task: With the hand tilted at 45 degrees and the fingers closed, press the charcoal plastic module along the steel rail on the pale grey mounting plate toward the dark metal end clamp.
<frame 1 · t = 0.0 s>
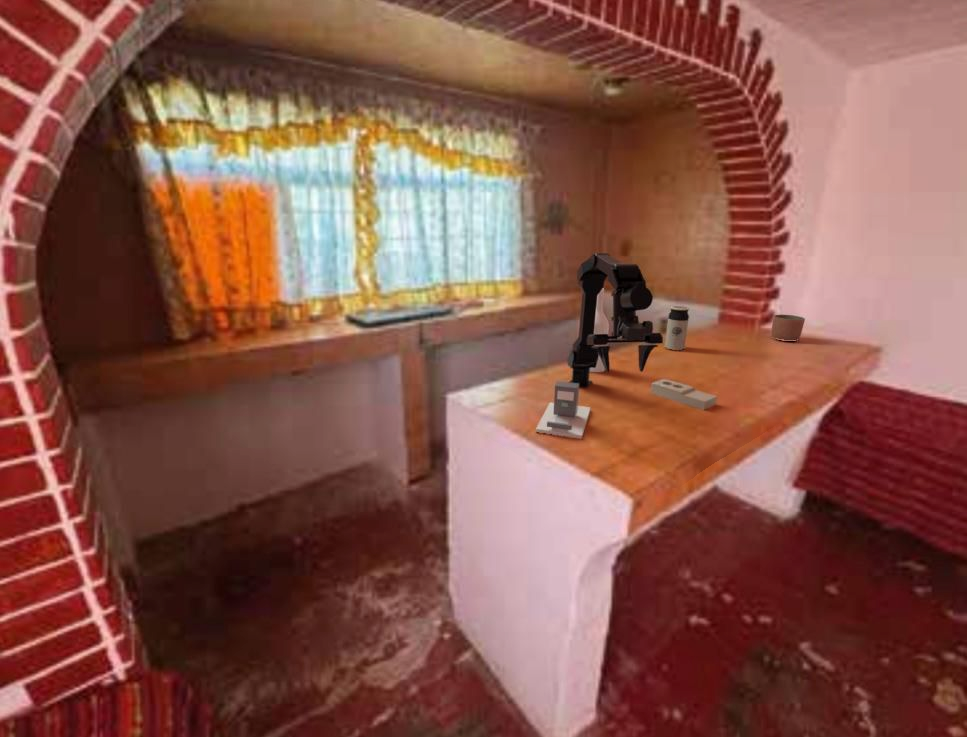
hand: (624, 372, 128), 15 cm above the table, tool pointing down, fingers open, 9 cm apart
planter: (784, 340, 226), on the table
travel mug: (674, 349, 210), on the table
rail plate: (564, 420, 135), on the table
bottle: (593, 369, 181), on the table
module: (566, 399, 134), point 6 cm above the table, slide at 0.0 cm
grey stepped block: (681, 400, 153), on the table
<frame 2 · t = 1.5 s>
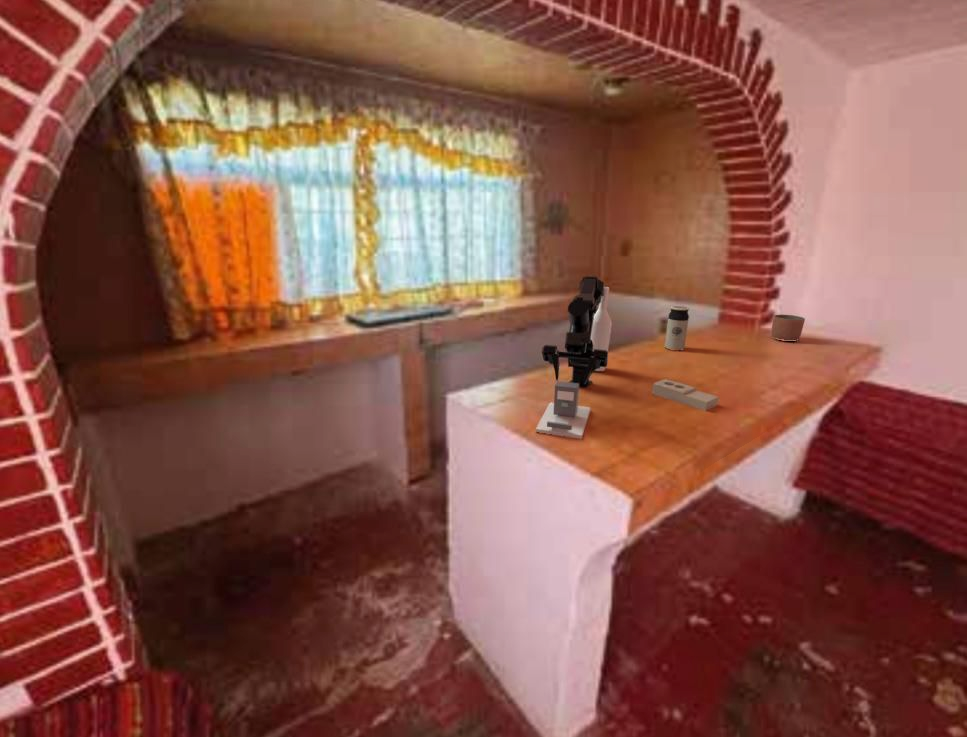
hand: (570, 381, 138), 9 cm above the table, tool tilted 45°, fingers open, 8 cm apart
bottle: (593, 368, 181), on the table, touching arm
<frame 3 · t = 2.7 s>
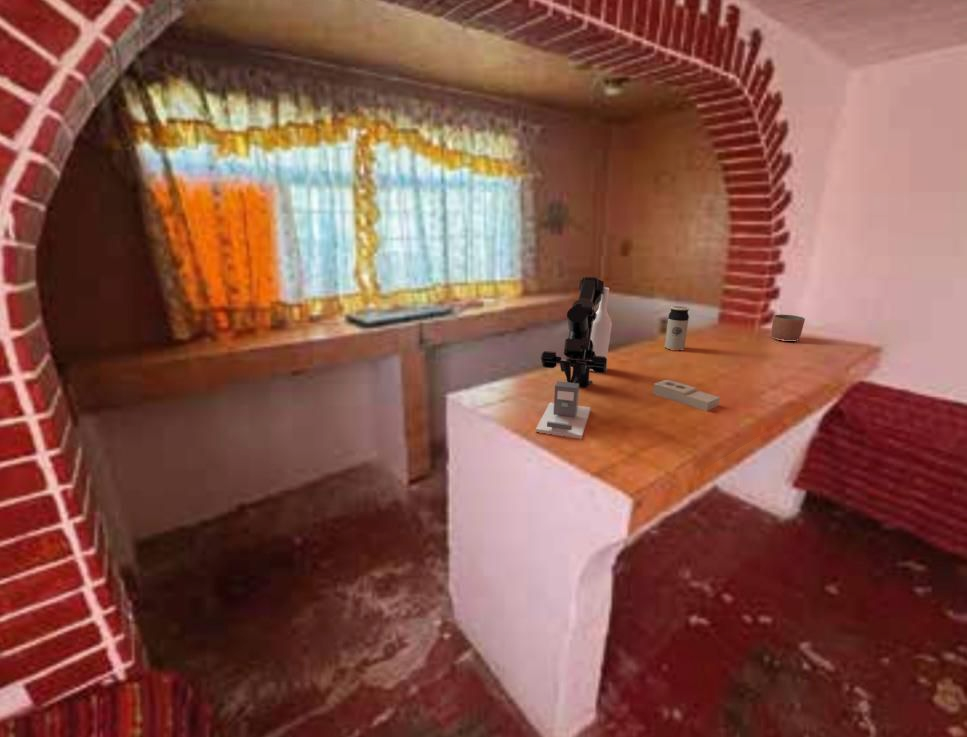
hand: (569, 387, 138), 8 cm above the table, tool tilted 45°, fingers closed
bottle: (593, 369, 181), on the table
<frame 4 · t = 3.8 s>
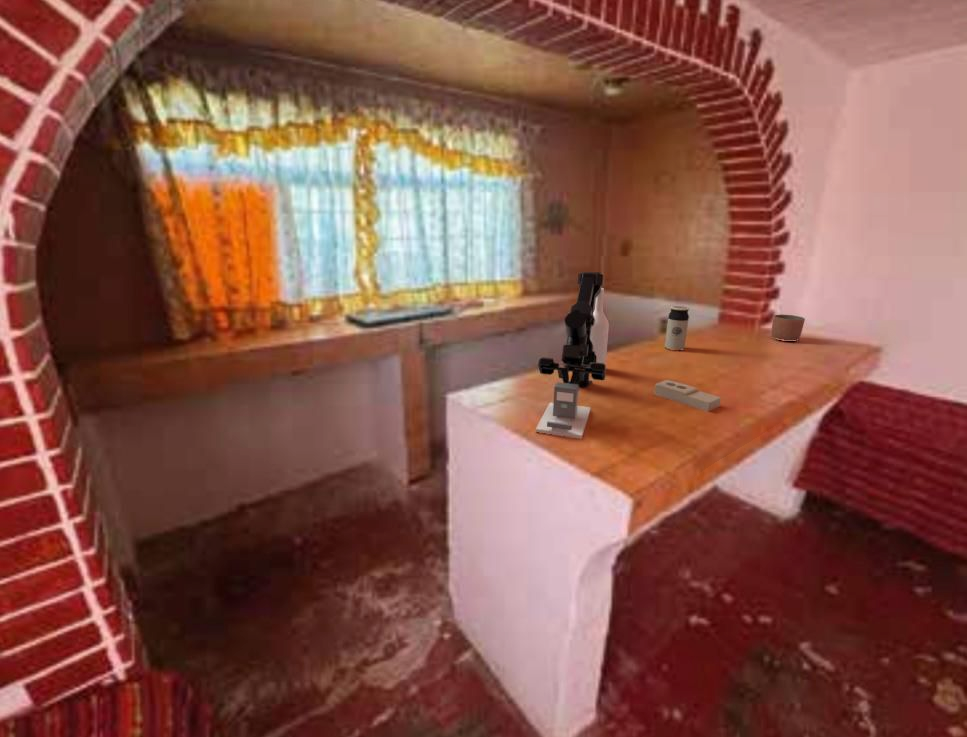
hand: (567, 395, 135), 7 cm above the table, tool tilted 45°, fingers closed, pressing on module
module: (565, 400, 133), point 6 cm above the table, slide at 1.0 cm, touching gripper
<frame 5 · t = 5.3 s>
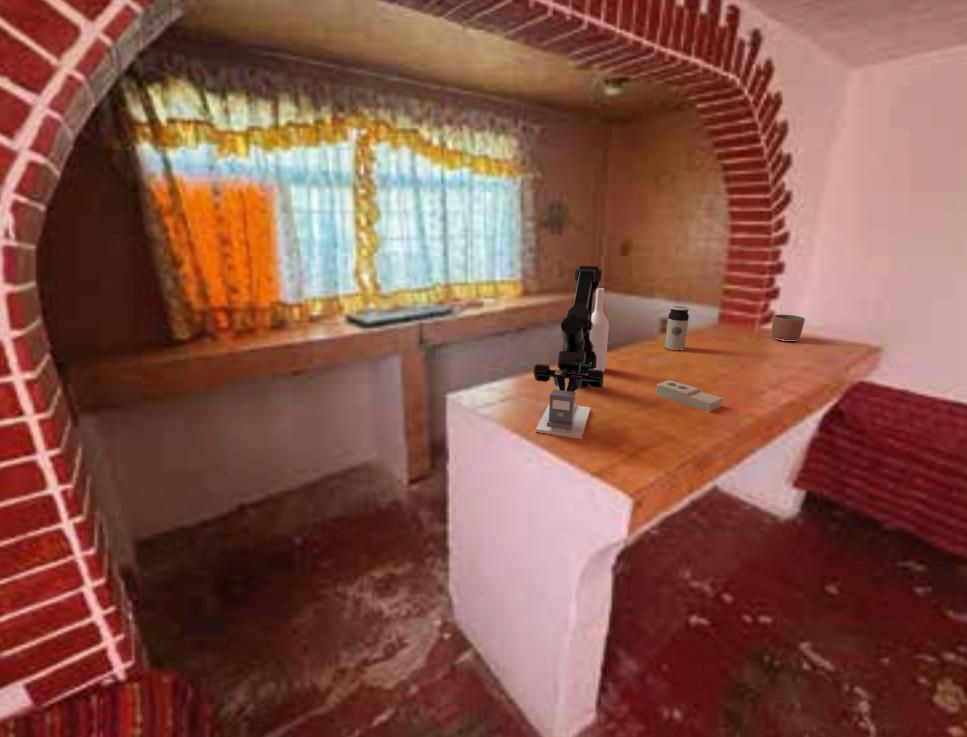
hand: (563, 403, 130), 7 cm above the table, tool tilted 45°, fingers closed
module: (561, 408, 128), point 6 cm above the table, slide at 7.2 cm
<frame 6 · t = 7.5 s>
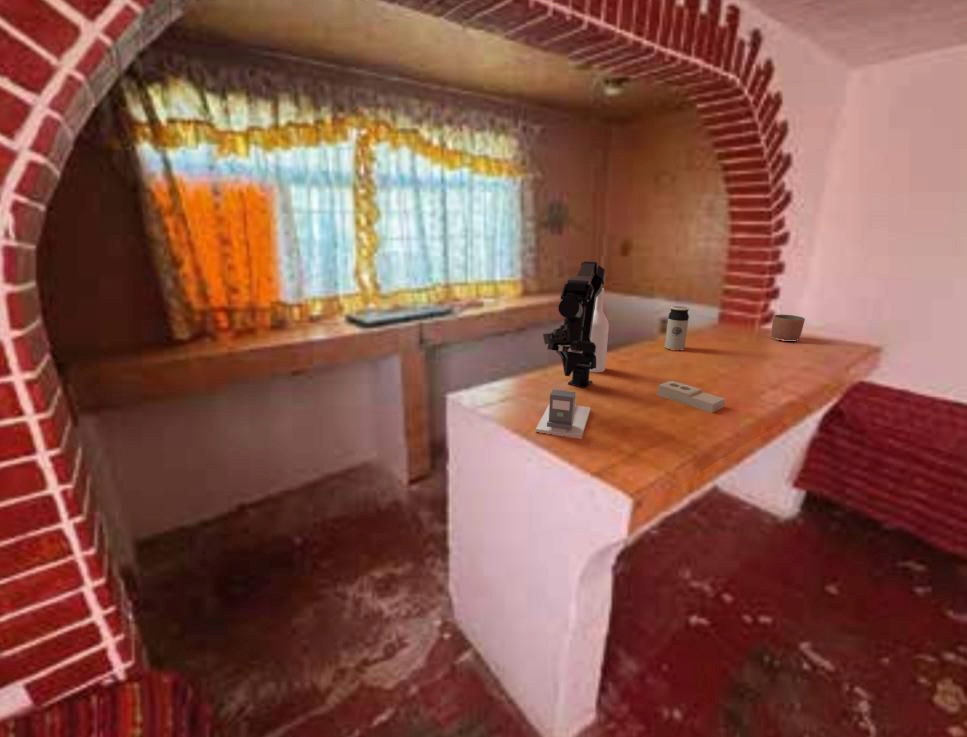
hand: (566, 376, 141), 10 cm above the table, tool tilted 20°, fingers closed
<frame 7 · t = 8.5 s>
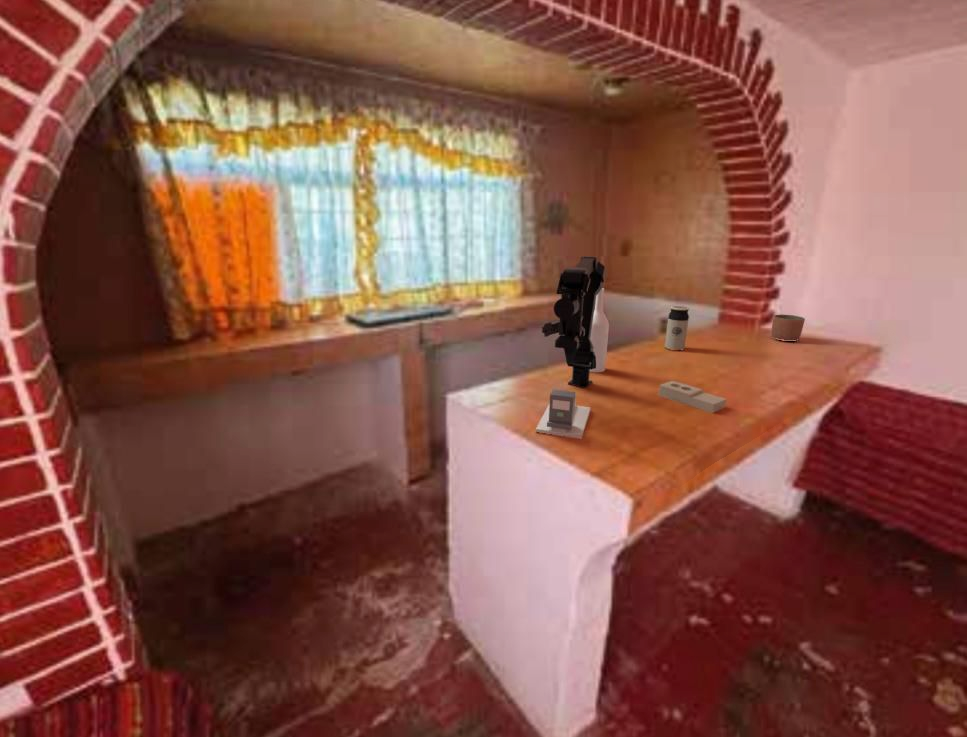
hand: (568, 364, 146), 12 cm above the table, tool pointing down, fingers closed
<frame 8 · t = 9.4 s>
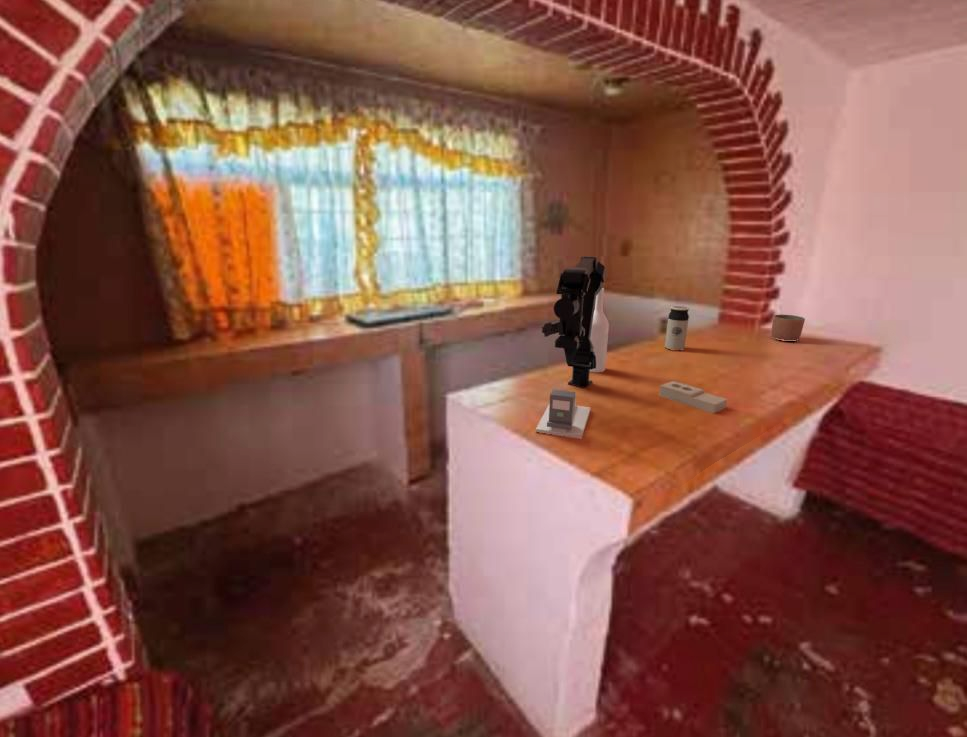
hand: (568, 364, 146), 12 cm above the table, tool pointing down, fingers closed
at the end: module slide at 7.2 cm; the gripper is holding nothing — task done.
